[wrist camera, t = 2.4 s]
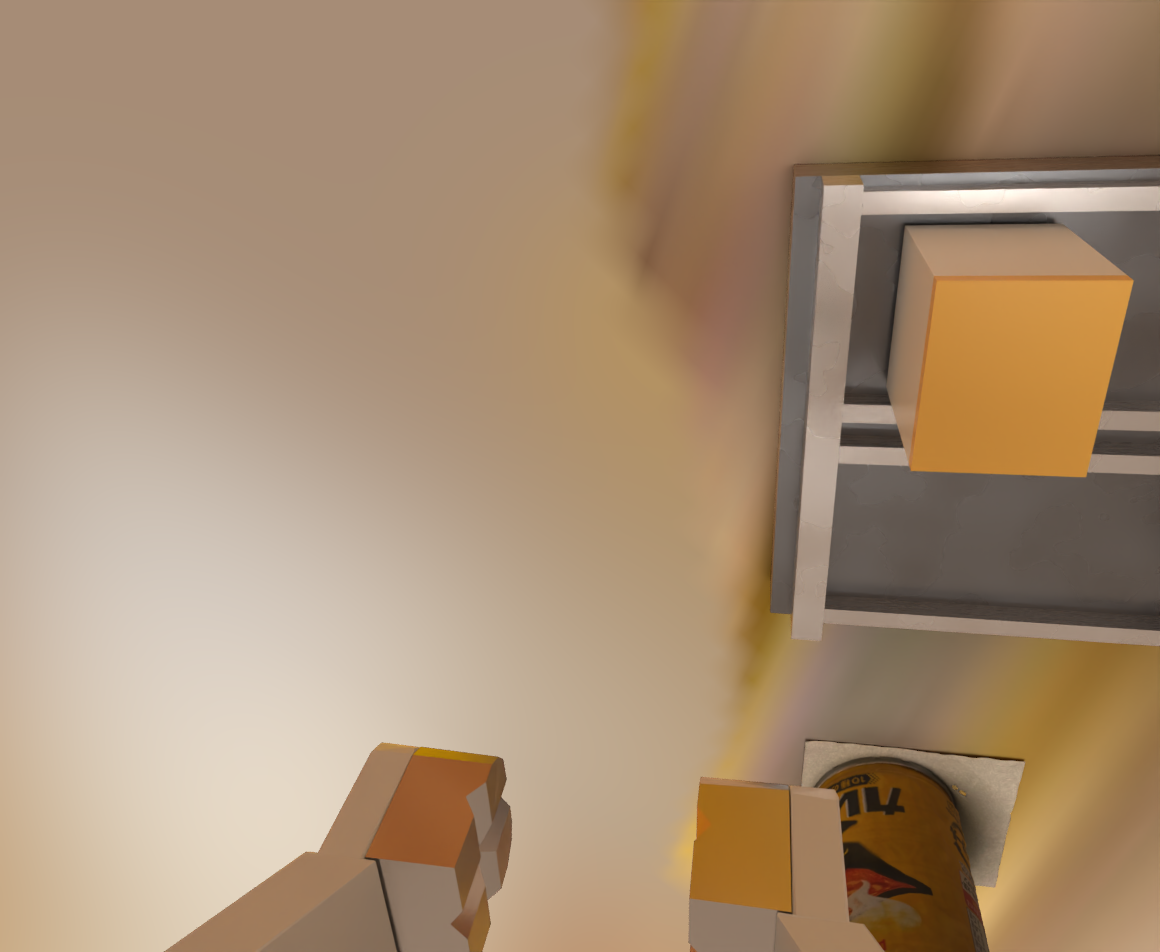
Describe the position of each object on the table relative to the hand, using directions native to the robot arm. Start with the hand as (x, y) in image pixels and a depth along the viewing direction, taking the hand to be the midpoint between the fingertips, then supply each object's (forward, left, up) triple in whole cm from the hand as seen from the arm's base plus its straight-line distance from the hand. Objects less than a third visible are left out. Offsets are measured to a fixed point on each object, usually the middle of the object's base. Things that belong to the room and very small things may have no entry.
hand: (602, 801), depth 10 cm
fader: (-7, 0, -19) cm, 20 cm away
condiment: (-8, +23, -21) cm, 32 cm away
